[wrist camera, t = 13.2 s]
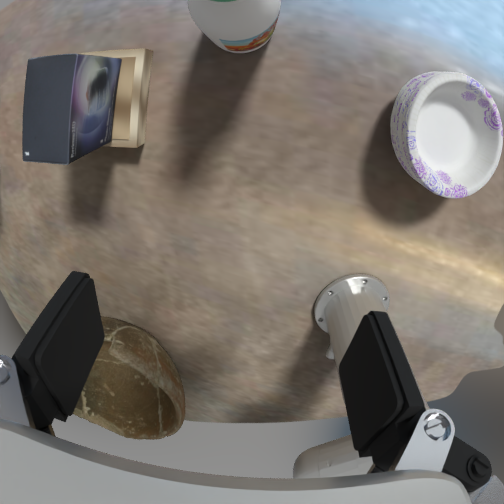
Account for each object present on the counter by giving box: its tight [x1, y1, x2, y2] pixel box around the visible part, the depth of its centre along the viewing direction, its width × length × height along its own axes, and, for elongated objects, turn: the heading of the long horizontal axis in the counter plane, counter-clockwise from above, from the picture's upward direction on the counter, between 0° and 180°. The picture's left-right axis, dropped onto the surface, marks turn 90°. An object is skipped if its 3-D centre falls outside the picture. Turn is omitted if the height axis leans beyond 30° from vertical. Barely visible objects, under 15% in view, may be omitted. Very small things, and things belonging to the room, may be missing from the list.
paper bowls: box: [390, 71, 503, 199], centre depth 30 cm, size 15×15×8 cm
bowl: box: [73, 317, 185, 439], centre depth 47 cm, size 28×27×15 cm
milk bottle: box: [188, 0, 281, 53], centre depth 20 cm, size 8×8×20 cm
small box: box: [22, 54, 122, 165], centre depth 25 cm, size 11×6×10 cm, turn 169°
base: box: [80, 49, 153, 148], centre depth 31 cm, size 12×12×3 cm
